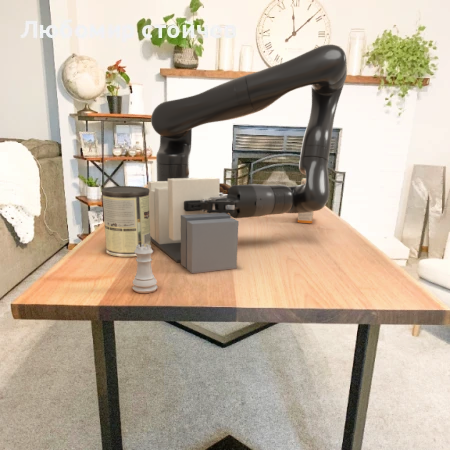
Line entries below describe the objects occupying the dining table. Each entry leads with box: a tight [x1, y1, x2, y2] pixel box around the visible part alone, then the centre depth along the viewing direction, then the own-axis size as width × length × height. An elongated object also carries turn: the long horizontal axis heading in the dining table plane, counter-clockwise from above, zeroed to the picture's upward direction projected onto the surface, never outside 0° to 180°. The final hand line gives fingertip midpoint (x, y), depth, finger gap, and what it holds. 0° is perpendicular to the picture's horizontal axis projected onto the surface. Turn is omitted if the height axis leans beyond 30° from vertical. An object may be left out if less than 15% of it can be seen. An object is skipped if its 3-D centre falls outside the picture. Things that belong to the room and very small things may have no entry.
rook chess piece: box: [131, 244, 158, 294], centre depth 77 cm, size 4×4×8 cm
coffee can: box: [101, 185, 152, 258], centre depth 100 cm, size 10×10×14 cm
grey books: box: [180, 213, 239, 274], centre depth 91 cm, size 6×10×10 cm, turn 115°
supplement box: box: [297, 177, 315, 224], centre depth 141 cm, size 8×5×13 cm, turn 168°
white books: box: [147, 180, 181, 263], centre depth 105 cm, size 25×12×14 cm, turn 25°
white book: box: [168, 176, 221, 241], centre depth 99 cm, size 3×11×13 cm, turn 115°
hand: (181, 204), depth 97 cm, fingers closed on white book, 3 cm apart
